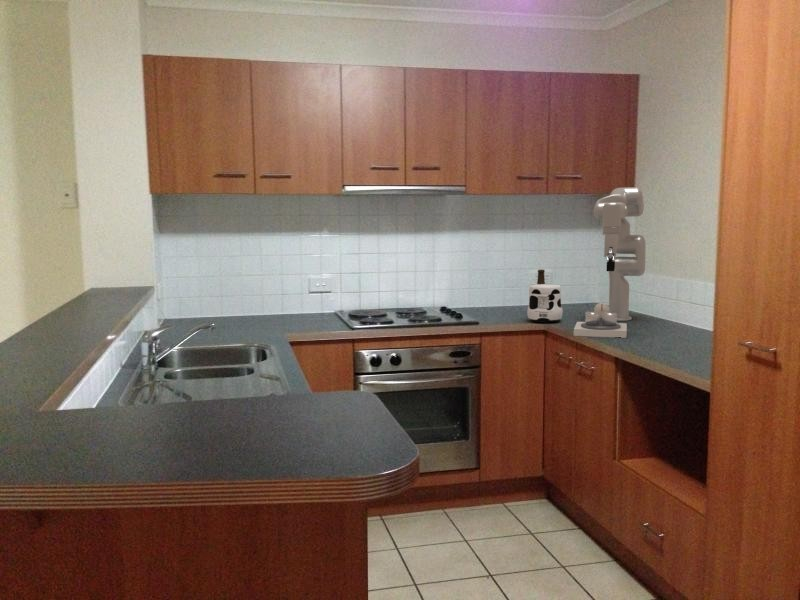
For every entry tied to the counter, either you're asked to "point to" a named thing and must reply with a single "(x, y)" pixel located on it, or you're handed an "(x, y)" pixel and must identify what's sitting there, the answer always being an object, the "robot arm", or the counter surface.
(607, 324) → the cylinder
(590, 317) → the cylinder
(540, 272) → the beer bottle
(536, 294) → the milk container
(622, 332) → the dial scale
